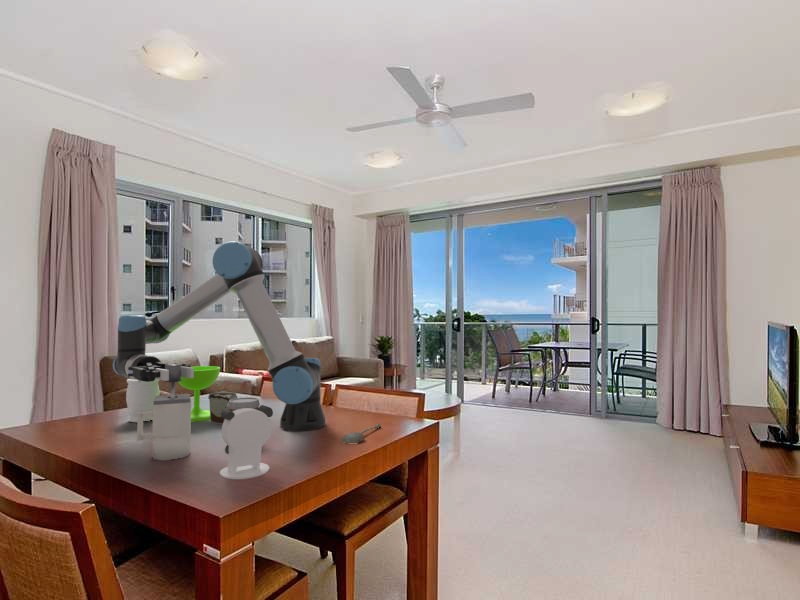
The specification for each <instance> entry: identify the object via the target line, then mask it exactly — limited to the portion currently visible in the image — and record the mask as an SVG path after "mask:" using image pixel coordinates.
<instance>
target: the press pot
mask: <svg viewBox="0 0 800 600" xmlns="http://www.w3.org/2000/svg"><path fill="white" fill-rule="evenodd" d="M191 411H192V398H191V394H190V393H181V394H180V393H179V394H175V398H171V394H165V395H164V394H162V395H160V396H155V399H154V402H153V411H147V412H138V422H137V425H136V426H137V429H136V430H137V436H136V438H137V439H136V440H137V441H138V442H139V441H148V440H152V457H153V458H154V459H153V458H152V459H153V460H155V459H157V460H156V461H172V460H171V459H175V460H179V459H178V458H180V459H183V458H186V457H188V456H189V455H191V434H192V433H191V432H192V431H191V430H192V429H191V428H192V427H191V426H192V424H191V423H192V422H191ZM147 417H153V420H152V432H148V433H144V422H143V418H147Z"/></svg>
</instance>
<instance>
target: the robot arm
mask: <svg viewBox="0 0 800 600" xmlns="http://www.w3.org/2000/svg"><path fill="white" fill-rule="evenodd" d="M212 266H213V269H214V270H215V272H216V274H215V275H213V276H212V277H210V278H209V279H207V280H206V281H205V282H203V283H202V284H200V285H199V286H197V287H195V288H194V289H193V290H191V291H190V292H189V293H187V294H186V295H184V296H183V297H181V298H180V299H178V300H177V301H175V302H173V303H172V304H171V305H169V306H168V307H166V308H165V309H163V310H162V311H161V312H159V313H158V314H157V315H155V316H153V317H152V318H151V319H149V320H147V318H146V316H145V315H133V314H132V315H130V314H129V315H127V314H126V315H125V314H124V315H120V316H119V318H118V325H117V356H116V357H115V358H114V359H113V362H112V369H113V372H114V373H115V374H116V375H118V376H120V377H122V378H125V379H130V378H131V379H136V380H138V382H141V381H144V382H150V381H154V380H155V379H159V381H164V382H165V381H169V370H165V365H169V363H164V362H161V360H160V359H159V358H158V357H156V356H154V355H153V356H152V355H148V354H146V348H147V347H146V346H147V345H148V344H149V345H150V344H159V343H162V342H164V341H166V340H168V338H169V336H170V334H171V333H173V332H175V331H176V330H177V329H178V328H179V329H180V327H182V326H184V324H186V323H187V322H189V321H191V320H192V319H194V318H195V317H196V316H198V315H199V314H201V313H203V312H204V311H205V310H206V309H207V310H208V308H209V307H211V306H213V305H214V304H215V303H217V302H218V301H220V300H221V299H223V298H224V297H226V296H227V295H228V294H231V293H233V294H236V297H238V300H239V302H240V304H241V306H242V308H243V310H244V312H245V315H246V316H247V318H248V320H249V323H250V325H251V327H252V329H253V331H254V333H255V334H256V337H257V339H258V341H259V343H260V345H261V347H262V350H263V351H264V354H265V356H266V358H267V359H268V363H269V365H268V368H267V372H268V373H269V375H270V378H271V380H272V390H273V393H274V395H275V397H277V399H278V400H279V401H281V402H283V403H284V404H285V405H284V408H283V410H282V413H281V417H280V420H279V427H280V429H282V430H286V431H290V432H291V431H292V432H293V431H297V432H299V431H302V432H303V431H304V432H305V431H312V430H313V431H314V430H318V429H321V427H322V428H323V426H324V427H325V426H326V416H325V414H324V410H323V407H322V403H321V370H322V365H321V364H322V363H321V360H320V358H317V357H305V355H304V354H303V352H300V351H297V349H295V347H294V344H293V343H292V340H291V338H290V337H289V334H288V332H287V329H286V328H285V325H284V324H283V322H282V320H281V318H280V316H279V314H278V313H279V312H277V309H276V307H275V305H274V303H273V301H272V299H271V297H270V295H269V293H268V291H267V288H266V287H265V285H264V279H265V274H264V271H263V269H264V261H263V258H262V256H261V255H260V253H259V252H258V251H257V250H256V249H254V248H252V247H250V246H248V245H246V244H245V243H243V242H242V241H235V240H233V241H231V240H230V241H227V242H224V243H222V244H221V245H219V246H218V247H217V248H216V250H215V251H214V252H213V255H212ZM173 364H177V362H175V363H173ZM191 367H192V366H191V365H190V364H189V365H188V364H186V363H182V364H181V377H186V378H194V368H191Z"/></svg>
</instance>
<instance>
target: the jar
mask: <svg viewBox="0 0 800 600" xmlns="http://www.w3.org/2000/svg"><path fill="white" fill-rule="evenodd" d="M159 381H160V380H159V379H155V380H154V381H150V382H144V381H141V382H138V380H136V379H131V378H126V383H127V388H126V393H125V395H126V396H125V399H126V405H127V406H126V408H127V411H128V414H129V416H130V417H129V419H128V421H129V422H131V423H138V412H147V411H153V402H154V399H155V396H161V395H160V394H161V393H160V392H161V391H160V386H159ZM150 420H152V421H153V417H147V418H143V421H148V422H151V421H150Z"/></svg>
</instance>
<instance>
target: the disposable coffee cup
mask: <svg viewBox="0 0 800 600" xmlns="http://www.w3.org/2000/svg"><path fill="white" fill-rule="evenodd" d="M227 406H228V408H229V411H235V410H238V409H242V408H252V409H256V410H258V408H259V407H260V406H261V402H260V400H259V398H258V397H248V396H247V397H237V398H235V399H231V400H229V402H228V404H227Z"/></svg>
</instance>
